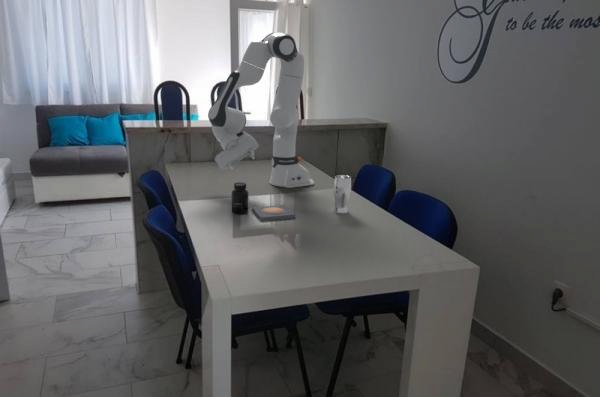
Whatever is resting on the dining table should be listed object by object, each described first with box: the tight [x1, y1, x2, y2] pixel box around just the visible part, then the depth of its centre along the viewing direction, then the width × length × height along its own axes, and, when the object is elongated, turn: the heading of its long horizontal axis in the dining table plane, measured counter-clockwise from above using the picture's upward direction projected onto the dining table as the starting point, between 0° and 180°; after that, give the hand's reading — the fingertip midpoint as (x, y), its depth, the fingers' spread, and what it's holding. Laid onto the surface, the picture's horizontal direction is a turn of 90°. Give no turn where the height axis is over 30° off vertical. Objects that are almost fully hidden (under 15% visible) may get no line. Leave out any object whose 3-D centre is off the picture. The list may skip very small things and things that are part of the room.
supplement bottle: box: [230, 181, 250, 215], centre depth 189 cm, size 7×7×12 cm
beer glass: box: [333, 174, 352, 215], centre depth 193 cm, size 7×7×15 cm
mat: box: [251, 204, 296, 222], centre depth 189 cm, size 14×13×2 cm
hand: (244, 164), depth 210 cm, fingers open, 8 cm apart
